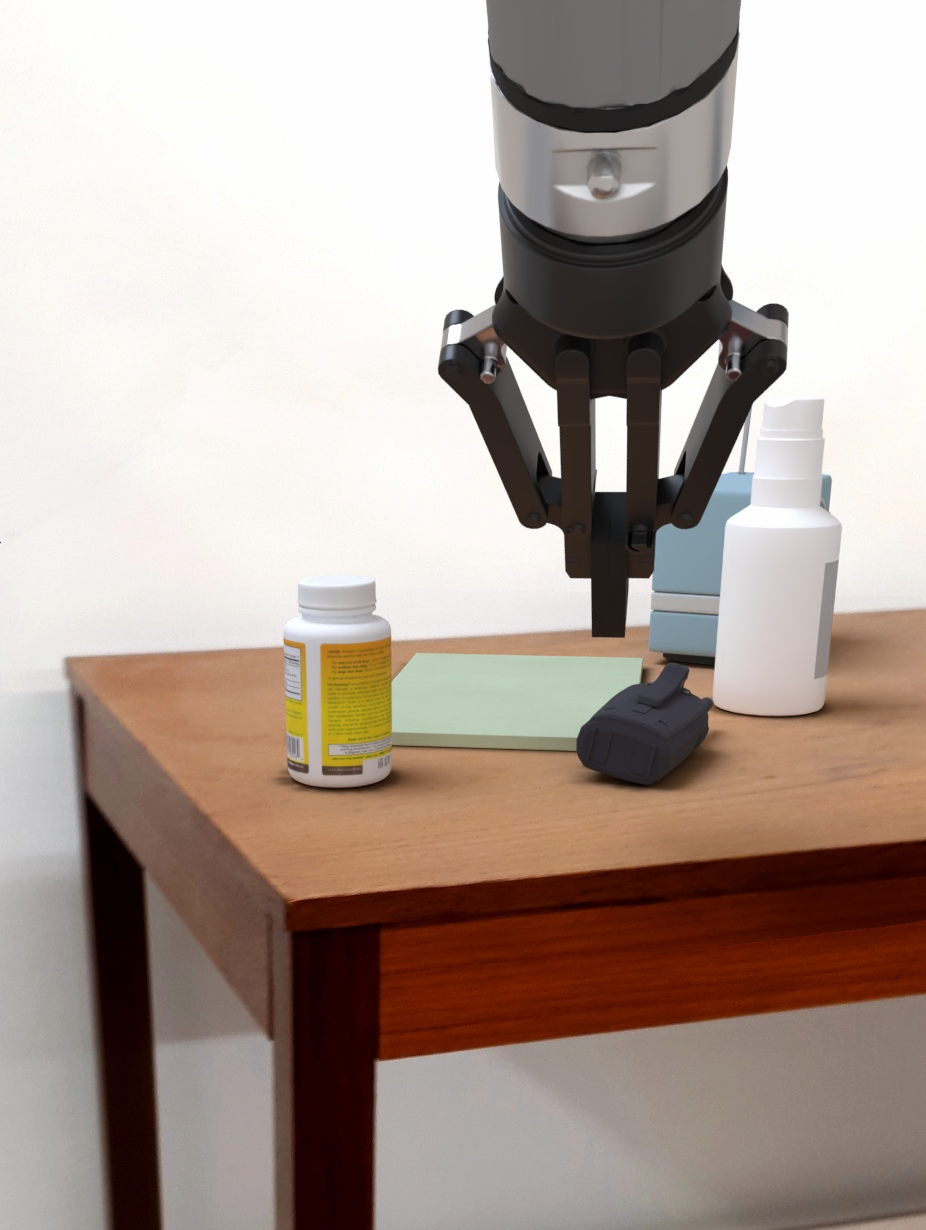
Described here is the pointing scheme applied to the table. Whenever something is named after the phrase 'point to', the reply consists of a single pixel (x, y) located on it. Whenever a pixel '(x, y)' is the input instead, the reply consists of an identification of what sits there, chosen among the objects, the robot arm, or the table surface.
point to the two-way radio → (645, 729)
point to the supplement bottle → (338, 684)
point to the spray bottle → (779, 574)
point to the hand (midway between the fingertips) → (610, 612)
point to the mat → (503, 699)
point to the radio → (699, 570)
